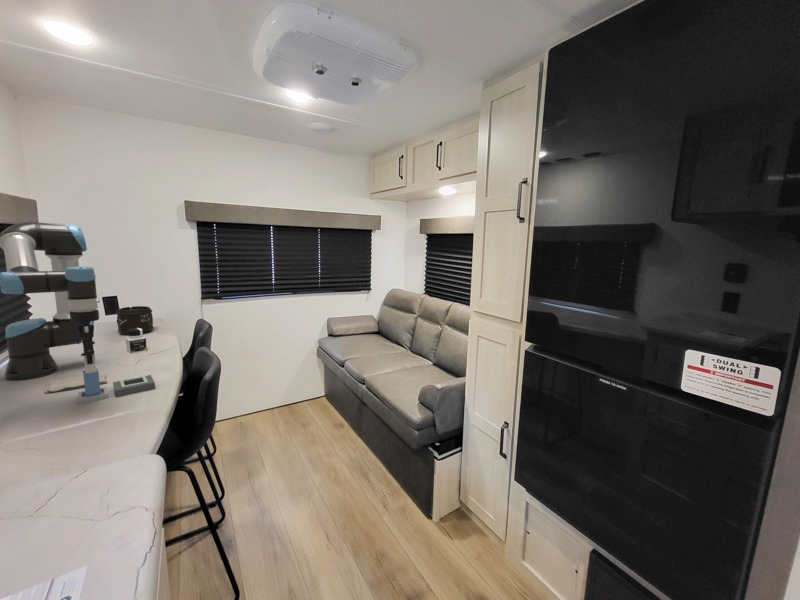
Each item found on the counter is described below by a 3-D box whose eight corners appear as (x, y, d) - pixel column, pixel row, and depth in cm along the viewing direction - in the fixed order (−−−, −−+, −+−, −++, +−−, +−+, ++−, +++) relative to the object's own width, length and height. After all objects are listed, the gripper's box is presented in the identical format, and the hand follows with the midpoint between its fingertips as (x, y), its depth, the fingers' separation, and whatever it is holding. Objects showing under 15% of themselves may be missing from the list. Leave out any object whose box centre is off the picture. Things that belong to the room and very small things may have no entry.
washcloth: (47, 388, 131) (46, 380, 131) (107, 377, 143) (106, 370, 143) (43, 398, 122) (42, 391, 122) (108, 386, 134) (107, 379, 134)
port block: (116, 399, 123) (115, 389, 123) (113, 390, 130) (112, 380, 130) (155, 390, 132) (154, 381, 131) (151, 382, 139) (150, 373, 138)
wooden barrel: (125, 329, 216) (123, 305, 214) (157, 328, 221) (156, 305, 219) (111, 336, 199) (108, 311, 197) (146, 335, 205) (144, 310, 202)
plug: (86, 400, 120) (82, 368, 118) (85, 396, 123) (82, 365, 121) (101, 397, 123) (97, 366, 121) (100, 393, 125) (97, 363, 124)
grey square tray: (78, 406, 117) (78, 399, 117) (78, 398, 123) (77, 392, 122) (108, 399, 123) (108, 393, 122) (107, 392, 128) (106, 386, 128)
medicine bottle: (130, 353, 172) (128, 331, 171) (126, 350, 177) (124, 328, 175) (147, 350, 178) (145, 328, 176) (142, 347, 182) (141, 326, 180)
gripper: (100, 314, 111) (106, 374, 114) (96, 304, 129) (102, 356, 132) (68, 317, 106) (76, 379, 109) (69, 306, 124) (75, 360, 127)
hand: (90, 367), depth 121 cm, fingers open, 13 cm apart
